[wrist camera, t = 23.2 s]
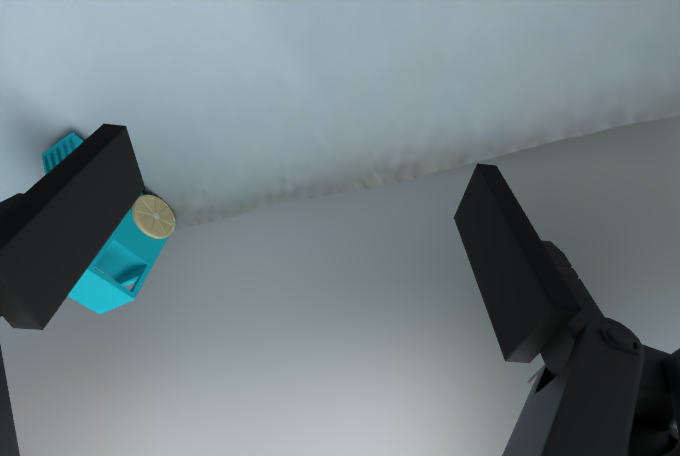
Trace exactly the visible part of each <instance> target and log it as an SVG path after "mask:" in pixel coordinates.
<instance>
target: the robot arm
mask: <svg viewBox="0 0 680 456" xmlns="http://www.w3.org/2000/svg"><path fill="white" fill-rule="evenodd" d="M144 189H145V186H144V183H143V180H142V176H141V173H140V170H139V167H138V163H137V160H136V157H135V154H134V151H133V147H132V144H131V141H130V138H129V135H128V131H127V128H126V126H121V125H111V124H103V125H102V126H101V127H100V128H98V129H97V130H96V131H95V132H94V133H93V134H92V135H90V136H89V137H88V138H87V139H86V140H85V141H84V142H82V143H81V144H80V145H79V146H78V147H77V148H76V149H75V150H73V151H72V152H71V153H70V154H69V155H68V156H67V157H65V158H64V159H63V160H62V161H61V162H60V163H59V164H57V165H56V166H55V167H54V168H53V169H52V170H51V171H50V172H48V173H47V174H46V175H45V176H44V177H43V178H42V179H40V180H39V181H38V182H37V183H36V184H35V185H34V186H32V187H31V188H30V189H29V190H28V191H27V192H26V193H24V194H22V193H18V194H16V195H14V196H12V197H10V198H8V199H6V200H4V201H2V202H0V317H1V316H3V317H4V318H5V319H6V321H7V322H8V323H9V324H10V325H11V326H12V327H13V328H21V329H22V328H23V329H36V330H43V329H44V328H45V326H46V325H47V323H48V322H49V320H50V319H51V318H52V316H53V315H54V314H55V312H56V311H57V310H58V308H59V306H60V305H61V304H62V303H63V301H64V300H65V299H66V297H67V296H68V294H69V293H70V292H71V290H72V289H73V287H74V286H75V285H76V283H77V282H78V281H79V279H80V278H81V276H82V275H83V274H84V272H85V271H86V269H87V268H88V267H89V265H90V264H91V263H92V261H93V260H94V258H95V257H96V256H97V254H98V253H99V251H100V250H101V249H102V247H103V246H104V245H105V243H106V242H107V240H108V239H109V238H110V236H111V235H112V233H113V232H114V231H115V229H116V228H117V227H118V225H119V224H120V222H121V221H122V220H123V218H124V217H125V215H126V214H127V213H128V211H129V210H130V209H131V207H132V206H133V204H134V203H135V202H136V200H137V199H138V197H139V196H140V195H141V193H142V192H143V191H144ZM454 219H455V222H456V225H457V227H458V230H459V233H460V236H461V239H462V242H463V244H464V247H465V250H466V253H467V256H468V258H469V261H470V264H471V267H472V269H473V272H474V275H475V278H476V281H477V284H478V286H479V289H480V292H481V295H482V298H483V301H484V303H485V306H486V309H487V311H488V314H489V317H490V320H491V323H492V326H493V329H494V331H495V334H496V337H497V340H498V342H499V345H500V348H501V351H502V354H503V356H504V359H505V361H508V362H523V363H530V362H531V361H532V360H533V359H534V358H535V357H536V356H537V355H538V354H539V353H541V356H542V358H543V360H544V363H545V365H544V366H543V367H542V368H541V369H540V370H539V371H538V372H537V373H536V374H534V376H533V377H531V378H530V380H529V381H528V383H529V384H532V383H533V382H534V381H535V382H534V384H533V386H532V389H531V391H530V393H529V396H528V398H527V400H526V402H525V405H524V407H523V410H522V412H521V414H520V416H519V419H518V421H517V423H516V426H515V428H514V430H513V432H512V435H511V437H510V439H509V442H508V444H507V446H506V448H505V451H504V453H503V455H502V456H680V349H678V350H676V351H675V352H674V353H672V354H668V353H665V352H663V351H659V350H656V349H654V348H651V347H648V346H645V345H642V344H641V343H640V340H639V339H638V338H637V337H636V336H635V335H634V333H633V332H632V331H631V330H629V329H628V328H627V327H625V326H624V325H622V324H621V323H619V322H617V321H614V320H612V319H610V318H605V317H604V316H603V314H602V312H601V311H600V309H599V308H598V306H597V305H596V303H595V301H594V300H593V298H592V297H591V295H590V294H589V292H588V291H587V289H586V287H585V286H584V284H583V283H582V281H581V280H580V279H578V275H577V273H576V272H575V270H574V269H573V268H571V264H570V262H569V261H568V259H567V258H566V256H565V255H564V253H563V252H562V251H560V249H558V248H557V247H556V246H555V245H554V244H553V243H552V242H551V241H541V240H540V238H539V236H538V234H537V233H536V231H535V230H534V228H533V226H532V224H531V223H530V221H529V219H528V218H527V216H526V214H525V213H524V211H523V209H522V208H521V206H520V204H519V203H518V201H517V199H516V198H515V196H514V194H513V193H512V191H511V189H510V188H509V186H508V184H507V183H506V181H505V179H504V178H503V176H502V174H501V172H500V171H499V169H498V167H497V166H495V165H486V164H477V166H476V168H475V170H474V172H473V175H472V177H471V179H470V182H469V184H468V186H467V189H466V191H465V193H464V196H463V198H462V200H461V203H460V205H459V207H458V209H457V212H456V214H455V217H454ZM677 430H678V432H677ZM0 456H20V455H19V448H18V443H17V437H16V431H15V426H14V420H13V414H12V409H11V403H10V398H9V391H8V386H7V380H6V374H5V369H4V363H3V357H2V351H1V346H0Z"/></svg>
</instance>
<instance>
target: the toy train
mask: <svg viewBox="0 0 680 456" xmlns="http://www.w3.org/2000/svg"><path fill="white" fill-rule="evenodd" d="M82 142H84V141H83V140H82V139H80V138H79V137H78V136H77V135H76V134H75V133H74V132H72V133H70V134H69V135H67V136H66V137H65V138H63V139H62V140H61V141H59V142H58V143H56V144H55V145H54V146H52V147H51V148H50V149H48V150H47V151H45V152H44V153H43V154H42V159H43V164H44V169H45V175H46V174H47V173H48V172H50V171H51V170H52V169H53V168H54V167H55V166H56V165H57V164H59V163H60V162H61V161H62V160H63V159H64V158H65V157H67V156H68V155H69V154H70V153H71V152H72V151H73V150H75V149H76V148H77V147H78V146H79V145H80V144H81V143H82ZM175 224H176V222H175V218H174V215H173V212H172V211H171V209H170V207H169V206H168V205H167V204H166V203H165V202H164V201H163V200H161V199H160V198H158V197H156V196H153V195H144V194H143V193H141V195H140V196H139V197H138V199H137V200H136V202H135V203H134V204H133V206H132V207H131V209H130V210H129V211H128V213H127V214H126V215H125V217H124V218H123V220H122V221H121V222H120V224H119V225H118V227H117V228H116V229H115V231H114V232H113V233H112V235H111V236H110V238H109V239H108V240H107V242H106V243H105V245H104V246H103V247H102V249H101V250H100V251H99V253H98V254H97V256H96V257H95V258H94V260H93V261H92V263H91V264H90V265H89V267H88V268H87V269H86V271H85V272H84V274H83V275H82V276H81V278H80V279H79V281H78V282H77V283H76V285H75V286H74V287H73V289H72V290H71V292H70V293H69V294H68V296H69V297H71V298H72V299H74V300H76V301H77V302H79V303H81V304H82V305H84V306H86V307H88V308H89V309H91V310H93V311H94V312H96V313H98V314H102V313H104V312H106V311H109V310H111V309H113V308H116V307H118V306H121V305H123V304H125V303H127V302H130V301H132V300H134V299H135V297H136V295H137V294H138V292H139V290H140V288H141V286H142V284H143V283H144V281H145V279H146V277H147V275H148V273H149V272H150V270H151V268H152V266H153V264H154V262H155V260H156V259H157V257H158V255H159V253H160V251H161V249H162V248H163V245H164V244H165V242H166V240H167V238H168V236H169V235H171V234H172V232H173V231H174V228H175ZM94 266H95V267H97V268H98V269H99V270H101V271H103V272H104V273H105V274H107V275H109V276H110V277H111V278H113V279H114V280H115V281H114V280H113V279H111V278H110V277H108V276H107V275H105V274H104V273H102V272H101V271H99V270H98V269H96V268H95V267H94ZM134 282H135V284H134V285H133V287H132V289H131V290H128V289H127V288H125V286H128V285H130V284H132V283H134Z"/></svg>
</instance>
